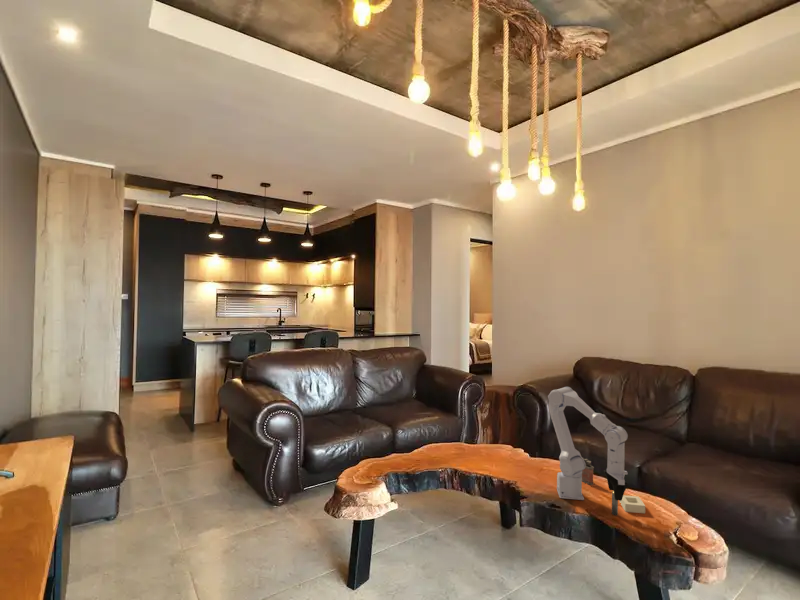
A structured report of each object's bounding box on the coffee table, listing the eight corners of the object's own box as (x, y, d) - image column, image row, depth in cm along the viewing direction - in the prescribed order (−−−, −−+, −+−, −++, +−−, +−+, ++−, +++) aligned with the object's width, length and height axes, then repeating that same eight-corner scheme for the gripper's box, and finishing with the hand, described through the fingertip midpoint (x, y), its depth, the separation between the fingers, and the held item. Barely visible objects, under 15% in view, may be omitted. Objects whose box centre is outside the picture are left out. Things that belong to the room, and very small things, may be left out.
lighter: (595, 483, 185) (595, 461, 184) (590, 485, 183) (590, 463, 182) (579, 476, 192) (579, 454, 191) (574, 478, 190) (574, 456, 189)
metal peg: (612, 515, 160) (612, 493, 160) (610, 512, 162) (611, 490, 162) (618, 515, 160) (618, 493, 159) (616, 512, 162) (617, 490, 161)
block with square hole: (625, 511, 162) (625, 504, 162) (619, 502, 169) (619, 494, 169) (645, 513, 161) (645, 505, 161) (638, 503, 168) (638, 496, 168)
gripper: (634, 468, 152) (633, 505, 153) (621, 452, 166) (620, 486, 167) (612, 467, 153) (612, 503, 154) (601, 451, 168) (601, 484, 168)
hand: (615, 494), depth 160 cm, fingers open, 7 cm apart
